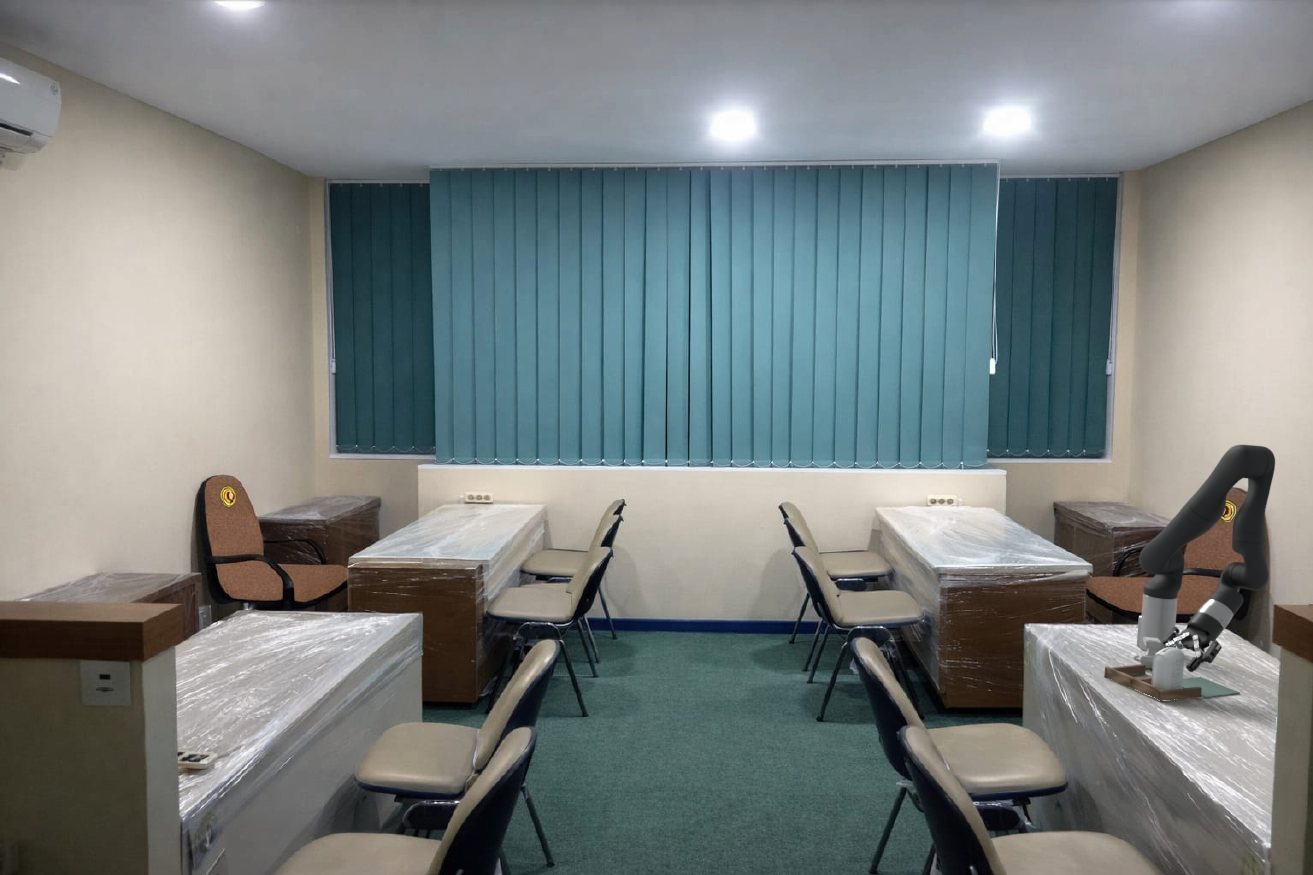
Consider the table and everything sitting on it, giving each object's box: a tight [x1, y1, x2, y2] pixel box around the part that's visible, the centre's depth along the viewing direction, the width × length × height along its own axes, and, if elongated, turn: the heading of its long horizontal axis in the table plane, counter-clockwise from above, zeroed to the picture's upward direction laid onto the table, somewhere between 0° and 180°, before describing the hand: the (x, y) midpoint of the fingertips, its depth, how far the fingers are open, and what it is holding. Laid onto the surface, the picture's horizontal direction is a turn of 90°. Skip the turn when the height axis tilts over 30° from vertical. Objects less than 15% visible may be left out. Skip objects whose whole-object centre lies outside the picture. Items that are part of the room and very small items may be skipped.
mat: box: [1182, 676, 1241, 699], centre depth 244 cm, size 12×12×1 cm
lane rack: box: [1104, 663, 1202, 701], centre depth 244 cm, size 19×14×3 cm
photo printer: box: [1151, 647, 1185, 691], centre depth 240 cm, size 10×4×12 cm, turn 123°
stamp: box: [1133, 637, 1161, 670], centre depth 260 cm, size 9×7×8 cm
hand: (1175, 664), depth 240 cm, fingers open, 8 cm apart
